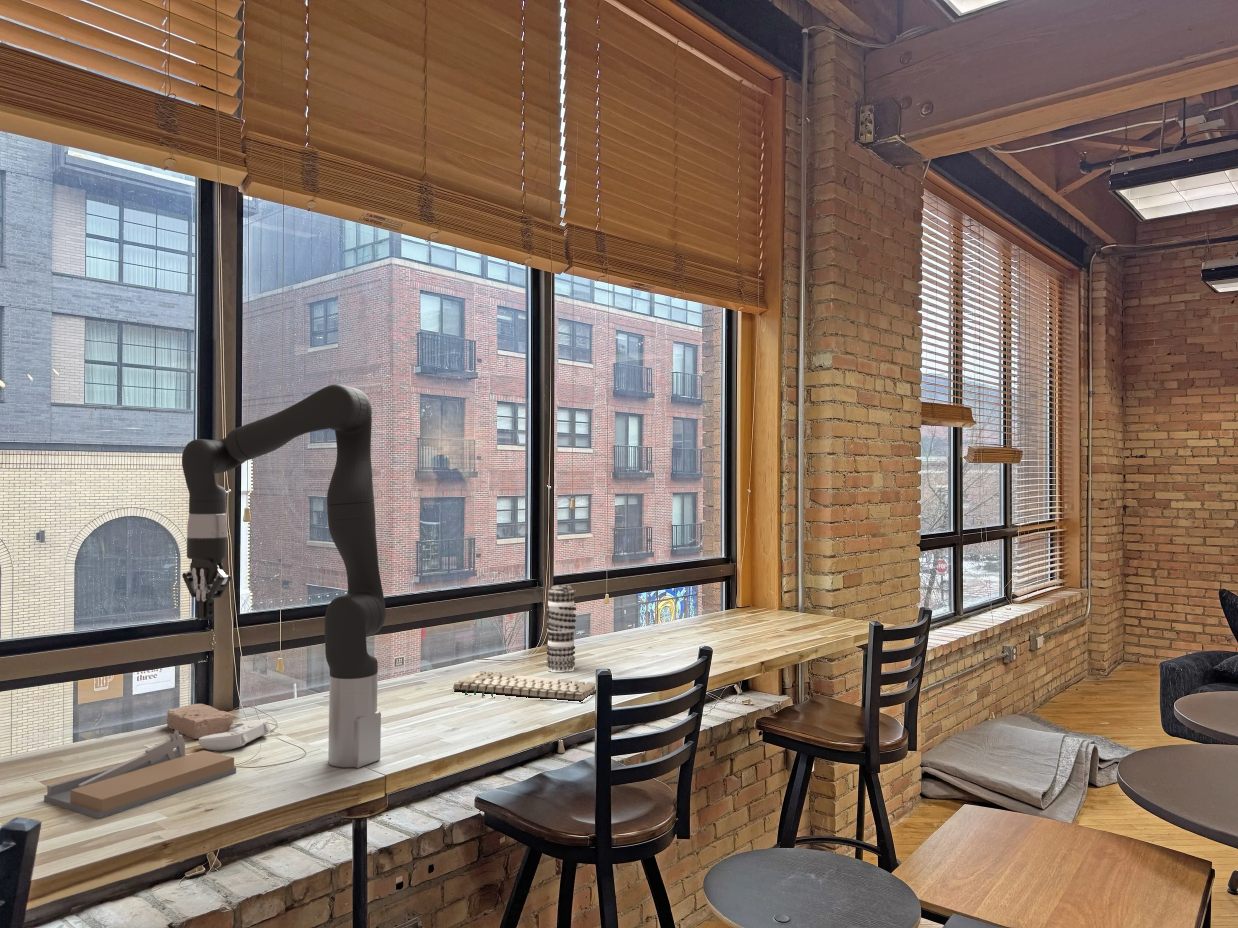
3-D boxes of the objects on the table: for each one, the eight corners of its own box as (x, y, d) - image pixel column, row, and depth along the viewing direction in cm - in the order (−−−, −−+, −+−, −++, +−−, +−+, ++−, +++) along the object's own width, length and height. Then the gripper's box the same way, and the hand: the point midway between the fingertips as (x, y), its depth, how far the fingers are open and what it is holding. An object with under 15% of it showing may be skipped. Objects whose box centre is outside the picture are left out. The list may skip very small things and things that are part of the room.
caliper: (181, 761, 167) (181, 728, 167) (184, 761, 166) (185, 728, 166) (70, 794, 149) (71, 757, 149) (74, 795, 148) (75, 758, 148)
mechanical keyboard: (603, 689, 234) (603, 677, 234) (582, 708, 215) (582, 694, 215) (476, 681, 244) (476, 669, 244) (445, 697, 225) (445, 684, 225)
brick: (164, 728, 194) (164, 707, 194) (202, 720, 200) (202, 700, 200) (196, 743, 183) (196, 721, 183) (234, 734, 189) (235, 713, 189)
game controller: (236, 717, 191) (275, 710, 189) (239, 737, 190) (279, 730, 189) (192, 736, 177) (234, 729, 175) (195, 757, 176) (238, 750, 174)
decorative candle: (579, 667, 259) (580, 584, 260) (571, 673, 250) (571, 588, 251) (550, 665, 262) (551, 583, 262) (541, 671, 253) (542, 587, 253)
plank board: (236, 772, 163) (236, 756, 163) (98, 818, 140) (99, 800, 141) (182, 759, 171) (183, 744, 171) (44, 801, 148) (44, 783, 148)
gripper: (244, 535, 178) (242, 619, 178) (202, 533, 185) (201, 614, 184) (211, 537, 172) (210, 624, 171) (170, 535, 178) (168, 618, 178)
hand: (205, 618), depth 178 cm, fingers closed
